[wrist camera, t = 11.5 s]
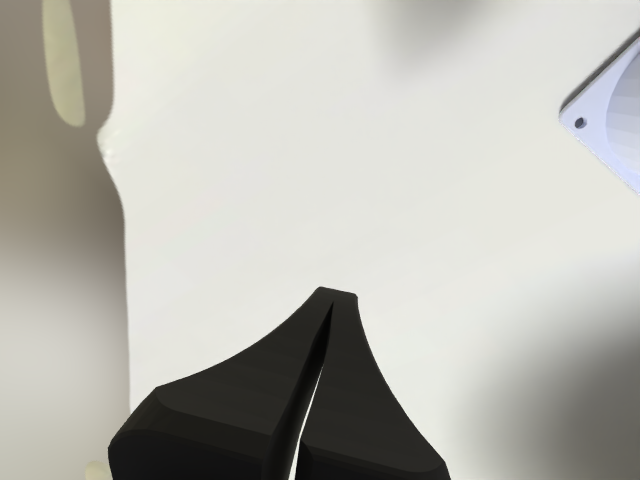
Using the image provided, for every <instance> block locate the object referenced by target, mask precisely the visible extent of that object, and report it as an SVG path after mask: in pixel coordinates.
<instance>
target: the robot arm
mask: <svg viewBox="0 0 640 480" xmlns="http://www.w3.org/2000/svg"><path fill="white" fill-rule="evenodd" d="M580 117H582V118H583V124H582V125H581V126H580V127H578V128H576V127H575V121H576V120H577V119H578V118H580ZM559 122H560V123H561V124H562V125H563V126H564V127H565V128H566V129H567V130H568V131H569V132H570V133H571V134H573V135H574V136H575V137H576V138H577V139H578V140H579V141H580V142H581V143H582V144H584V145H585V146H586V147H587V148H588V149H589V150H590V151H591V152H592V153H593V154H595V155H596V156H597V157H598V158H599V159H600V160H601V161H602V162H603V163H604V164H606V165H607V166H608V167H609V168H610V169H611V170H612V171H613V172H614V173H615V174H617V175H618V176H619V177H620V178H621V179H622V180H623V181H624V182H625V183H626V184H628V185H629V186H630V187H631V188H632V189H633V190H634V191H635V192H636V193H637V194H639V195H640V36H639V37H638V38H637V39H636V40H635V41H634V42H633V43H632V44H631V45H630V46H629V47H628V48H627V49H626V50H625V51H624V52H623V53H621V54H620V55H619V56H618V57H617V58H616V59H615V60H614V61H613V62H612V63H611V64H610V65H609V66H608V67H607V68H606V69H605V70H603V71H602V72H601V73H600V74H599V75H598V76H597V77H596V78H595V79H594V80H593V81H592V82H591V83H590V84H589V85H588V86H587V87H586V88H584V89H583V90H582V91H581V92H580V93H579V94H578V95H577V96H576V97H575V98H574V99H573V100H572V101H571V102H570V103H569V104H568V105H566V106H565V107H564V108H563V109H562V111H561V112H560V114H559ZM322 367H323V368H322ZM321 370H322V371H321ZM320 373H321V374H320ZM319 375H320V378H319ZM318 378H319V381H318ZM317 381H318V385H317V388H316V391H315V395H314V398H313V401H312V405H311V408H310V411H309V414H308V417H307V420H306V423H305V426H304V429H303V432H302V435H301V438H300V444H299V452H298V459H297V466H296V474H295V480H451V478H450V475H449V472H448V469H447V466H446V463H445V461H444V460H443V459H442V458H441V456H440V455H439V454H438V453H437V452H436V451H435V449H434V448H433V447H432V446H431V445H430V444H429V443H428V441H427V440H426V439H425V438H424V437H423V436H422V435H421V433H420V432H419V431H418V429H417V428H416V427H415V425H414V424H413V423H412V421H411V420H410V419H409V417H408V416H407V414H406V413H405V411H404V410H403V408H402V407H401V405H400V404H399V402H398V401H397V399H396V398H395V396H394V395H393V393H392V392H391V390H390V388H389V386H388V384H387V383H386V381H385V379H384V377H383V375H382V373H381V371H380V369H379V367H378V365H377V363H376V361H375V359H374V357H373V354H372V352H371V349H370V347H369V344H368V341H367V339H366V336H365V332H364V329H363V326H362V322H361V319H360V314H359V309H358V297H357V296H356V294H354V293H349V292H344V291H340V290H335V289H330V288H325V287H318V288H317V289H316V290H315V291H314V292H313V294H312V295H311V296H310V297H309V298H308V299H307V300H306V301H305V302H304V303H303V304H302V306H301V307H299V308H298V309H297V310H296V311H295V312H294V313H293V314H292V315H291V316H290V317H289V318H288V319H286V320H285V321H284V322H283V323H282V324H280V325H279V326H278V327H277V328H275V329H274V330H273V331H272V332H270V333H269V334H268V335H266V336H265V337H263V338H262V339H261V340H259V341H258V342H256V343H255V344H253V345H252V346H250V347H248V348H247V349H245V350H243V351H241V352H240V353H238V354H236V355H235V356H233V357H231V358H229V359H227V360H225V361H223V362H221V363H219V364H217V365H214V366H212V367H210V368H208V369H205V370H203V371H201V372H198V373H196V374H193V375H191V376H188V377H185V378H182V379H179V380H176V381H173V382H170V383H167V384H165V385H161V386H158V387H156V388H155V389H154V390H153V391H152V392H151V393H150V394H149V395H148V396H147V397H146V398H145V399H144V400H143V401H142V402H141V404H140V405H139V406H138V407H137V408H136V409H135V410H134V412H133V413H132V414H131V416H130V417H129V418H128V419H127V421H126V422H125V423H124V425H123V426H122V427H121V428H120V430H119V431H118V432H117V433H116V435H115V436H114V438H113V439H112V440H111V442H110V445H109V447H108V459H109V465H110V469H111V473H112V477H113V480H288V479H289V474H290V470H291V466H292V462H293V458H294V454H295V450H296V446H297V442H298V438H299V434H300V431H301V428H302V424H303V421H304V418H305V415H306V412H307V410H308V407H309V404H310V401H311V398H312V395H313V393H314V390H315V387H316V384H317Z"/></svg>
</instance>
